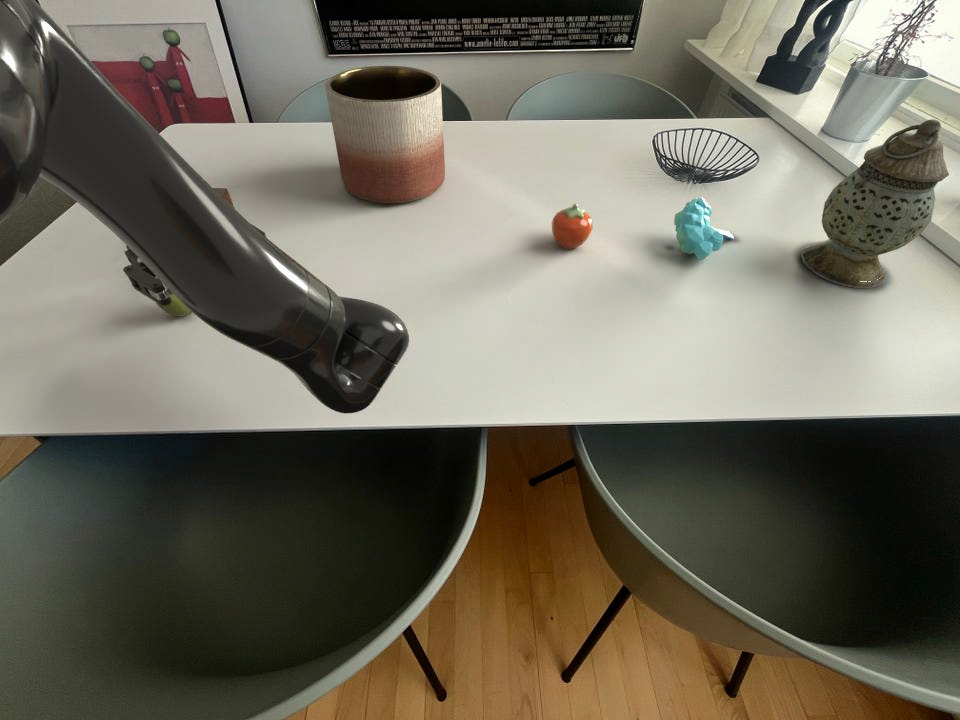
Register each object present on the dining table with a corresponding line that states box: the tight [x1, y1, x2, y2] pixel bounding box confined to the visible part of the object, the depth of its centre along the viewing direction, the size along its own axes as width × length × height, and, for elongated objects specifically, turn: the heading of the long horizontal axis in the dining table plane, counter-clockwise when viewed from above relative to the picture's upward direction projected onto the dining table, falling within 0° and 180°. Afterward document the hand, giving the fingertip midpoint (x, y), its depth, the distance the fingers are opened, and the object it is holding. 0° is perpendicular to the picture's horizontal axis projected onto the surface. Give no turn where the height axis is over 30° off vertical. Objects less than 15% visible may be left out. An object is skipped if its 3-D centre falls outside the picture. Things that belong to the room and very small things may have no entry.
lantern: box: [800, 118, 950, 289], centre depth 78 cm, size 14×14×25 cm
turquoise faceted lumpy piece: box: [673, 196, 735, 261], centre depth 89 cm, size 11×9×15 cm
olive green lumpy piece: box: [156, 294, 193, 317], centre depth 71 cm, size 6×5×10 cm
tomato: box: [551, 203, 594, 249], centre depth 87 cm, size 7×7×8 cm
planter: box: [324, 65, 446, 205], centre depth 98 cm, size 22×22×20 cm
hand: (168, 236), depth 58 cm, fingers open, 8 cm apart
